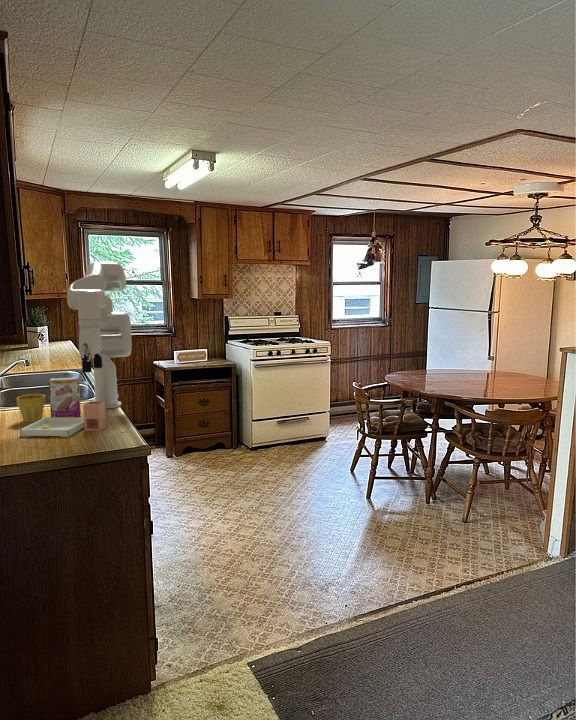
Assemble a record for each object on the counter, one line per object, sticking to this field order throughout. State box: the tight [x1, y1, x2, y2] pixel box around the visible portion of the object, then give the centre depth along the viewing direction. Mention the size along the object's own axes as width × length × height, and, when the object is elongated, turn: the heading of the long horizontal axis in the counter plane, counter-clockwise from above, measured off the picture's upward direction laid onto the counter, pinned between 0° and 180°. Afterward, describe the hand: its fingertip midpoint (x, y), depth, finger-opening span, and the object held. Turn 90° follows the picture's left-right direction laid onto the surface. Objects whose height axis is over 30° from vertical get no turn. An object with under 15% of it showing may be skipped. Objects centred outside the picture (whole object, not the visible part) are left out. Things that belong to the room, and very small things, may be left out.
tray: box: [19, 416, 85, 438], centre depth 194 cm, size 18×18×2 cm
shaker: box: [82, 400, 108, 432], centre depth 195 cm, size 6×6×10 cm
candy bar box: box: [48, 377, 82, 418], centre depth 211 cm, size 11×5×16 cm, turn 108°
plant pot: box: [16, 393, 47, 423], centre depth 208 cm, size 10×10×10 cm
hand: (92, 370), depth 193 cm, fingers open, 9 cm apart
